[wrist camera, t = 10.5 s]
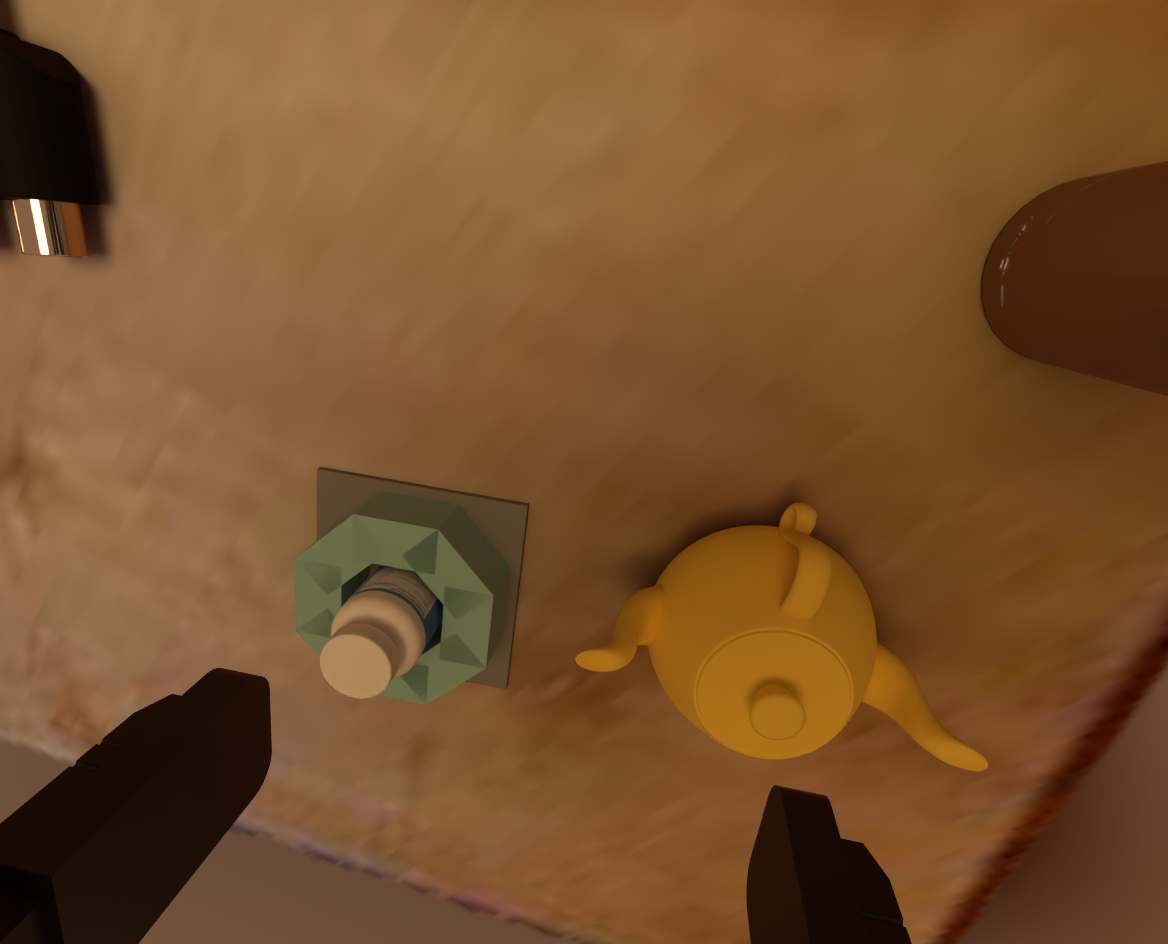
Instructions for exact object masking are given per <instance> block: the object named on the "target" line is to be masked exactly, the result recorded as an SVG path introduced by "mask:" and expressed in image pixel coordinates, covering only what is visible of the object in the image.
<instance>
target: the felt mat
mask: <svg viewBox="0 0 1168 944" xmlns="http://www.w3.org/2000/svg"><path fill="white" fill-rule="evenodd" d="M382 491H383V492H388V493H394V494H400V495H405V496H411V497H416V498H422V499H428V500H433V501H439V502H444V503H450V504H456V505H460V507H461V508H462V509H463V510H464V512H465V513H466V514H467V515H468V516H469V518H470V519H471V520H472V521H473V523H474V524H475V525H476V526H477V527H478V529H479V530H480V531H481V532H482V534H483V535H484V536H485V537H486V538H487V540H488V541H489V542H490V543H491V545H492V546H493V547H494V548H495V549H496V551H497V552H498V553H499V554H500V555H501V557H502V558H503V559H504V560H505V562H506V563H507V564H508V565H509V572H508V581H507V590H506V599H505V608H504V617H503V626H502V634H501V636H500V639H499V641H498V643H497V645H496V647H495V650H494V652H493V654H492V656H491V659H490V661H489V663H488V665H487V667H486V669H484V670H483V671H481V672H479V673H478V674H476V675H474V676H473V677H471V678H469V679H468V680H466V681H468V682H473V683H478V684H483V685H488V686H493V687H498V688H503V689H506V688H507V685H508V677H509V668H510V660H511V651H512V643H513V634H514V626H515V617H516V609H517V600H518V592H519V583H520V575H521V566H522V558H523V549H524V541H525V532H526V524H527V515H528V507H529V504H526V503H520V502H515V501H509V500H503V499H498V498H492V497H486V496H481V495H475V494H469V493H464V492H458V491H452V490H447V489H441V488H435V487H430V486H424V485H418V484H413V483H407V482H401V481H396V480H390V479H384V478H379V477H373V476H367V475H362V474H356V473H350V472H345V471H339V470H333V469H328V468H322V467H320V468H318V469H317V540H319V539H320V538H321V537H323V536H324V535H325V534H326V533H328V532H329V531H330V530H332V529H333V528H334V527H336V526H337V525H338V524H340V523H341V522H342V521H344V520H345V519H346V518H347V517H349V516H350V515H351V514H353V513H354V512H355V511H357V510H358V509H359V508H361V507H362V506H363V505H365V504H366V503H367V502H369V501H370V500H371V499H372V498H374V497H375V496H376V495H378V494H379V493H380V492H382ZM378 566H379V564H373V563H372V564H370V571H369V576H370V575H371V574H372V573H373V572H374V571H375V570H376V569H377V568H378ZM441 622H442V621H441Z"/></svg>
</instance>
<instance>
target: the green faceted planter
mask: <svg viewBox="0 0 1168 944" xmlns="http://www.w3.org/2000/svg"><path fill="white" fill-rule="evenodd" d="M372 563H373V564H379V565H384V566H389V567H395V568H400V569H406V570H411V571H415V572H416V573H417V574H418V575H419V577H420V578H421V579H422V580H423V581H424V582H425V584H426V585H427V586H428V587H429V588H430V589H431V591H432V592H433V593H434V594H435V595H436V596H437V598H438V599H439V600H440V601H441V602H442V603H443V605H444V606H443V619H442V622H441V623H440V624H439V626H438V628H437V629H436V631H435V633H434V634H433V636H432V638H431V639H430V641H429V643H428V644H427V646H426V648H425V649H424V651H423V653H422V654H421V656H420V658H419V659H418V661H417V662H416V664H415V665H414V666H413V667H412V668H411V669H410V670H409V671H408V672H406V673H405V674H403V675H401V676H399V677H396V678H393V679H392V680H391V682H390V683H389V684H388V686H387V687H386V688H385V690H383V691H382V692H381V693H379V694H378V695H379V696H384V697H389V698H394V699H399V700H404V701H408V702H413V703H418V704H423V705H427V704H429V703H430V702H432V701H433V700H435V699H437V698H438V697H440V696H442V695H443V694H445V693H447V692H448V691H450V690H451V689H453V688H455V687H456V686H458V685H460V684H461V683H463V682H465V681H466V680H468V679H469V678H471V677H473V676H474V675H476V674H478V673H479V672H481V671H483V670H484V669H486V667H487V665H488V663H489V661H490V659H491V656H492V654H493V652H494V650H495V647H496V645H497V643H498V641H499V639H500V636H501V634H502V626H503V617H504V608H505V599H506V590H507V581H508V572H509V565H508V564H507V563H506V562H505V560H504V559H503V558H502V557H501V555H500V554H499V553H498V552H497V551H496V549H495V548H494V547H493V546H492V545H491V543H490V542H489V541H488V540H487V538H486V537H485V536H484V535H483V534H482V532H481V531H480V530H479V529H478V527H477V526H476V525H475V524H474V523H473V521H472V520H471V519H470V518H469V516H468V515H467V514H466V513H465V512H464V510H463V509H462V508H461V507H460V505H456V504H450V503H444V502H439V501H433V500H428V499H422V498H416V497H411V496H405V495H400V494H394V493H388V492H383V491H382V492H380V493H379V494H378V495H376V496H375V497H374V498H372V499H371V500H370V501H369V502H367V503H366V504H365V505H363V506H362V507H361V508H359V509H358V510H357V511H355V512H354V513H353V514H351V515H350V516H349V517H347V518H346V519H345V520H344V521H342V522H341V523H340V524H338V525H337V526H336V527H334V528H333V529H332V530H330V531H329V532H328V533H326V534H325V535H324V536H323V537H321V538H320V539H319V540H317V541H316V542H315V543H314V544H312V545H311V546H310V547H309V548H307V549H306V550H305V551H304V552H302V553H301V554H300V555H299V556H297V557H296V558H295V615H296V632H297V633H298V634H299V635H300V636H301V637H302V638H303V639H304V641H305V642H306V643H307V644H308V645H309V646H310V647H311V648H312V649H313V650H314V651H315V653H316V654H317V655H318V656H319V657H320V655H321V652H322V649H323V647H324V646H325V644H326V643H327V642H328V640H329V639H330V638H331V626H332V622H333V619H334V617H335V615H336V613H337V612H338V610H339V609H340V608H341V607H342V606H343V605H344V604H345V602H346V601H347V600H348V599H349V598H350V597H351V596H352V595H353V594H354V593H355V592H356V591H357V590H358V589H359V587H360V586H361V585H362V584H363V583H364V582H365V581H366V580H367V579H368V578H369V571H370V564H372Z"/></svg>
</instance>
